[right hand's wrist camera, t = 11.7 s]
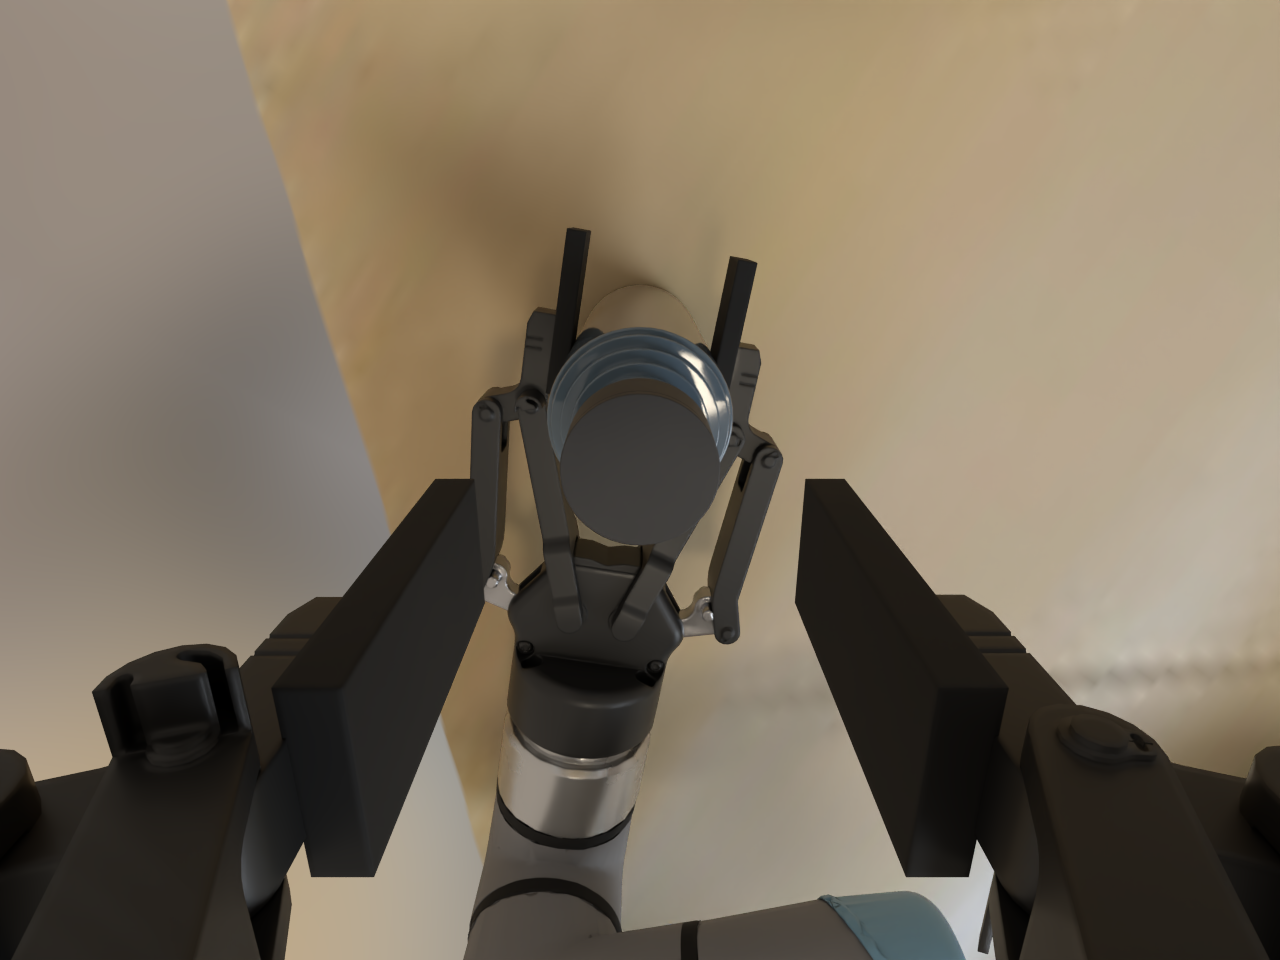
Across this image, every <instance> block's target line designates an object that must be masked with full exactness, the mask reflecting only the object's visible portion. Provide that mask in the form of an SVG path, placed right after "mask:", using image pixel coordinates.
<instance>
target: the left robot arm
mask: <svg viewBox="0 0 1280 960" xmlns="http://www.w3.org/2000/svg"><path fill="white" fill-rule="evenodd" d="M590 235H591V231H590V230H584V229H579V228H567V232H566V240H565V248H564V255H563V263H562V271H561V279H560V286H559V294H558V302H557V309H556V310H553V309H547V308H542V307H538V308H537V309H536V310H534V312H533V313H532V315H531V317H530V319H529V321H528V323H527V331H526V340H525V348H524V357H523V366H522V374H521V380H520V383H518V384H517V385H514V386H509V387H504V388H499V387H492V388H491V389H489V390H487V392H486V393H485V394H484V395H483V396H482V397H481V398H480V399H479V400H478V402H477V403H476V404H475V405H474V407H473V410H472V431H471V468H470V479H475V491H476V502H477V514H478V526H479V538H480V549H481V561H482V573H483V585H484V596H485V601H486V602H489V603H491V604H494V605H496V606H498V607H501V608H503V609H506V610H508V618H509V621H510V623H511V625H512V627H513V629H514V633H515V645H514V652H513V660H512V668H511V675H510V683H509V691H508V698H507V706H508V709H507V713H506V716H505V720H504V728H503V736H502V744H501V752H500V760H499V768H498V779H497V793H496V799H495V805H494V811H493V817H492V823H491V829H490V836H489V842H488V847H487V853H486V858H485V862H484V867H483V871H482V875H481V879H480V883H479V887H478V891H477V895H476V900H475V904H474V908H473V912H472V916H471V921H470V929H469V934H468V944H467V948H466V952H465V955H464V959H463V960H966V959H965V957H964V954H963V952H962V949H961V947H960V945H959V943H958V941H957V939H956V936H955V934H954V932H953V931H952V929H951V927H950V925H949V923H948V922H947V920H946V918H945V917H944V916H943V914H942V913H941V911H940V910H939V909H938V908H937V907H936V906H935V905H934V904H933V903H932V902H931V901H930V900H928V899H927V898H926V897H924V896H922V895H920V894H918V893H915V892H909V891H898V892H887V893H876V894H865V895H854V896H842V897H834V896H831V895H824V896H820V897H819V898H818V899H817V900H813V901H807V902H802V903H797V904H791V905H786V906H781V907H775V908H770V909H765V910H759V911H754V912H749V913H743V914H738V915H733V916H727V917H722V918H717V919H711V920H706V921H701V920H700V921H690V922H684V923H677V924H671V925H664V926H658V927H652V928H645V929H639V930H632V931H626V932H622V930H621V896H622V873H623V864H624V857H625V851H626V846H627V840H628V834H629V829H630V823H631V817H632V813H633V810H634V807H635V802H636V798H637V796H638V792H639V788H640V783H641V779H642V774H643V769H644V765H645V760H646V756H647V751H648V747H649V740H650V731H651V728H652V726H653V722H654V718H655V714H656V709H657V704H658V700H659V695H660V691H661V686H662V681H663V677H664V672H665V668H666V664H667V661H668V658H669V656H670V655H671V653H672V652H673V651H674V650H675V649H676V648H677V647H678V646H679V645H680V643H681V642H682V639H683V637H690V636H700V635H710V634H714V635H715V638H716V639H717V641H718V642H720V643H722V644H731V643H734V642H735V641H737V639H738V638H739V636H740V625H739V612H738V599H739V595H740V592H741V589H742V586H743V583H744V580H745V577H746V574H747V571H748V568H749V565H750V562H751V559H752V556H753V553H754V550H755V546H756V543H757V540H758V537H759V534H760V531H761V528H762V525H763V522H764V519H765V516H766V513H767V510H768V507H769V504H770V501H771V497H772V494H773V491H774V488H775V485H776V482H777V479H778V476H779V473H780V470H781V467H782V463H783V457H782V454H781V452H780V451H779V449H778V447H777V446H776V444H775V442H774V441H773V439H772V437H771V436H770V435H769V434H767V433H765V432H761V431H759V430H757V429H755V428H754V427H752V426H751V425H749V423H748V418H749V413H750V409H751V405H752V400H753V396H754V392H755V386H756V383H757V379H758V374H759V370H760V366H761V359H760V353H759V350H758V349H757V348H756V346H755V345H752V344H746V343H741V342H740V340H741V335H742V331H743V326H744V322H745V317H746V313H747V308H748V304H749V299H750V294H751V290H752V285H753V281H754V276H755V272H756V267H757V263H756V262H754V261H751V260H748V259H743V258H738V257H732V256H730V259H729V264H728V269H727V274H726V279H725V283H724V288H723V293H722V298H721V303H720V308H719V312H718V317H717V322H716V327H715V332H714V336H713V341H712V346H711V351H710V352H711V354H712V356H713V358H714V360H715V362H716V364H717V366H718V368H719V369H720V371H721V373H722V375H723V377H724V379H725V381H726V383H727V386H728V389H729V392H730V395H731V401H732V406H733V426H732V433H731V438H730V442H729V445H728V448H727V450H726V453H725V455H724V457H723V459H722V460H721V462H720V481H719V485H718V488H719V486H720V485H721V483H722V481H723V479H724V478H725V476H726V474H727V473H728V471H729V469H730V468H731V466H732V464H733V463H734V461H735V459H736V457H737V456H738V457H740V458H742V461H741V464H740V468H739V471H738V474H737V478H736V481H735V484H734V487H733V491H732V494H731V497H730V500H729V504H728V507H727V510H726V514H725V517H724V520H723V523H722V527H721V530H720V533H719V537H718V540H717V543H716V546H715V550H714V553H713V556H712V559H711V563H710V567H709V572H708V587H705V586H704V587H701V588H700V589H699V590H698V591H697V592H696V593H695V594H694V597H693V602H692V604H691V605H690V606H689V607H688V608H686V609H683V610H680V608H679V606H678V604H677V603H676V601H675V599H674V597H673V595H672V593H671V591H670V590H669V588H668V586H667V584H666V582H667V580H668V578H669V577H670V575H671V573H672V570H673V567H674V564H675V561H676V559H677V557H678V556H679V554H680V552H681V551H682V549H683V547H684V545H685V544H686V542H687V540H688V539H689V537H690V535H691V534H692V532H693V530H694V529H695V527H696V525H697V523H698V522H699V521H698V522H697V523H696V524H695V525H694V526H693V527H691V528H690V529H689V530H687V531H686V532H684V533H683V534H681V535H679V536H677V537H675V538H673V539H670V540H667V541H664V542H661V543H656V544H651V545H639V546H638V547H631V546H614V547H607V546H605V545H603V544H600V543H598V542H595V541H593V540H587V539H580V537H579V531H578V526H577V521H576V518H575V516H574V512H573V511H572V509H571V507H570V506H569V504H568V502H567V500H566V498H565V495H564V493H563V489H562V486H561V480H560V462H559V460H558V459H557V457H556V455H555V453H554V450H553V448H552V445H551V442H550V438H549V434H548V427H547V407H548V400H549V396H550V392H551V389H552V386H553V384H554V381H555V379H556V377H557V375H558V373H559V371H560V369H561V367H562V366H563V364H564V362H565V360H566V358H567V356H568V354H569V352H570V350H571V349H572V347H573V345H574V343H575V341H576V335H577V327H578V320H579V313H580V306H581V299H582V292H583V285H584V278H585V270H586V263H587V256H588V249H589V242H590ZM513 420H519V422H520V427H521V432H522V437H523V443H524V448H525V453H526V458H527V463H528V468H529V473H530V478H531V483H532V488H533V493H534V498H535V503H536V508H537V513H538V518H539V523H540V528H541V533H542V538H543V555H544V560H545V561H544V562H543V563H542V564H541V565H540V566H539V567H538V568H537V569H536V570H534V571H533V572H532V573H531V574H530V575H529V576H528V577H527V578H526V579H525V580H524V581H523V582H521V583H520V584H519V585H518V584H516V583H514V581H513V580H512V579H511V577H510V568H511V566H510V563H509V561H508V560H507V558H506V557H505V556H504V555H499V553H500V550H501V547H502V544H503V540H504V532H505V512H506V490H507V468H508V447H509V425H510V421H513ZM717 490H718V489H717Z"/></svg>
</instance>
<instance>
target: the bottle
mask: <svg viewBox="0 0 1280 960" xmlns="http://www.w3.org/2000/svg"><path fill="white" fill-rule="evenodd" d="M634 378H647V379H654V380H659V381H662V382H665V383H668V384H670V385H672V386H675V387H677V388H678V389H680V390H681V391H683V392H685V393H686V394H687V395H688V396H689V397H691V398H692V399H693V400H694V401H695V402H696V404H697V405H698V406H699V407H700V409H701V410H702V411H703V413H704V415H705V417H706V419H707V421H708V423H709V426H710V429H711V432H712V435H713V437H714V440H715V443H716V446H717V449H718V453H719V459H720V462H721V460H722V459H723V457H724V455H725V453H726V450H727V448H728V445H729V442H730V438H731V433H732V426H733V406H732V401H731V395H730V392H729V389H728V386H727V383H726V381H725V379H724V377H723V375H722V373H721V371H720V369H719V368H718V366H717V364H716V362H715V360H714V358H713V356H712V354H711V352H710V351H709V349H708V347H707V345H706V343H705V341H704V339H703V337H702V335H701V334H700V332H699V330H698V328H697V326H696V324H695V322H694V320H693V318H692V316H691V315H690V313H689V311H688V310H687V308H686V307H685V306H684V305H683V304H682V302H681V301H679V300H678V299H677V298H676V297H675V296H673V295H672V294H670V293H669V292H667V291H665V290H663V289H660V288H657V287H654V286H649V285H631V286H626V287H623V288H620V289H617V290H615V291H613V292H611V293H610V294H608V295H607V296H605V297H604V298H603V299H602V300H601V301H600V302H599V303H598V304H597V305H596V306H595V307H594V309H593V310H592V312H591V313H590V315H589V317H588V318H587V320H586V322H585V324H584V326H583V328H582V330H581V332H580V334H579V335H578V337H577V339H576V341H575V343H574V345H573V347H572V349H571V350H570V352H569V354H568V356H567V358H566V360H565V362H564V364H563V366H562V367H561V369H560V371H559V373H558V375H557V377H556V379H555V381H554V384H553V386H552V389H551V392H550V396H549V400H548V407H547V427H548V434H549V438H550V442H551V445H552V448H553V450H554V453H555V455H556V457H557V459H558V460H559V462H560V458H561V453H562V449H563V446H564V443H565V440H566V437H567V434H568V431H569V428H570V425H571V423H572V421H573V418H574V416H575V415H576V413H577V411H578V410H579V408H580V407H581V406H582V405H583V403H584V402H585V401H586V400H587V399H588V398H589V397H590V396H592V395H593V394H594V393H596V392H597V391H598V390H600V389H602V388H603V387H605V386H607V385H609V384H612V383H615V382H618V381H621V380H626V379H634Z"/></svg>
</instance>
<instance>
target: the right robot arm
mask: <svg viewBox="0 0 1280 960" xmlns="http://www.w3.org/2000/svg"><path fill="white" fill-rule="evenodd" d="M484 604H485V596H484V585H483V573H482V561H481V549H480V538H479V526H478V514H477V502H476V491H475V479H435V480H434V481H433V483H432V484H431V485H430V487H429V488H428V489H427V490H426V492H425V493H424V494H423V495H422V497H421V498H420V499H419V501H418V502H417V503H416V504H415V506H414V507H413V508H412V509H411V511H410V512H409V513H408V515H407V516H406V517H405V518H404V520H403V521H402V522H401V523H400V525H399V526H398V527H397V528H396V530H395V531H394V532H393V534H392V535H391V536H390V537H389V539H388V540H387V541H386V543H385V544H384V545H383V546H382V548H381V549H380V550H379V551H378V553H377V554H376V555H375V556H374V558H373V559H372V560H371V562H370V563H369V564H368V565H367V567H366V568H365V569H364V570H363V572H362V573H361V574H360V575H359V577H358V578H357V579H356V581H355V582H354V583H353V584H352V586H351V587H350V588H349V589H348V591H347V592H346V593H345V595H344V596H343V597H316V598H314V599H312V600H311V601H309V602H307V603H306V604H304V605H302V606H301V607H299V608H297V609H296V610H294V611H292V612H291V613H289V614H288V615H287V616H286V617H285V618H284V619H283V620H282V621H281V622H280V624H279V625H278V626H277V627H276V628H275V629H274V630H273V632H272V633H271V634H270V638H269V639H265V640H264V641H263V643H262V644H261V645H260V646H259V647H258V648H257V649H256V651H255V655H254V656H250V657H249V658H248V659H247V661H246V662H245V663H244V664H243V665H242V666H241V667H240V668H239V665H238V661H237V656H236V655H235V654H234V653H233V652H231V651H230V650H229V649H227V648H226V647H222V646H216V645H211V644H196V645H182V646H178V647H174V648H170V649H166V650H162V651H158V652H154V653H151V654H149V655H147V656H144V657H142V658H139V659H137V660H134V661H132V662H129V663H127V664H126V665H124V666H123V667H121V668H119V669H118V670H116V671H115V672H113V673H111V674H110V675H108V676H107V677H106V678H105V679H104V680H103V681H102V682H101V683H100V684H99V685H98V686H97V687H96V688H95V689H94V690H93V691H92V694H93V697H94V700H95V703H96V706H97V710H98V712H99V716H100V719H101V722H102V725H103V728H104V732H105V735H106V738H107V741H108V744H109V747H110V751H111V754H112V760H111V761H110V764H109V766H107V767H103V768H99V769H94V770H90V771H85V772H80V773H75V774H70V775H66V776H61V777H56V778H52V779H47V780H42V781H37V782H34V779H33V776H32V774H31V771H30V768H29V765H28V763H27V760H26V758H25V757H23V756H22V755H20V754H19V753H18V752H16V751H15V750H6V749H0V960H284V959H285V951H286V944H287V936H288V929H289V921H290V913H291V906H292V903H291V895H290V888H289V884H288V879H287V875H286V874H287V872H288V870H289V868H290V866H291V864H292V862H293V861H294V859H295V857H296V855H297V853H298V851H299V849H300V847H301V846H302V844H303V842H304V845H305V849H306V855H307V859H308V864H309V869H310V873H311V877H374V876H375V873H376V871H377V868H378V866H379V863H380V861H381V858H382V856H383V853H384V851H385V849H386V846H387V844H388V841H389V839H390V836H391V834H392V831H393V829H394V826H395V824H396V821H397V819H398V816H399V814H400V811H401V809H402V807H403V804H404V802H405V799H406V796H407V794H408V792H409V789H410V787H411V784H412V782H413V779H414V777H415V774H416V772H417V769H418V767H419V764H420V762H421V760H422V757H423V755H424V752H425V750H426V747H427V745H428V742H429V740H430V737H431V735H432V732H433V730H434V727H435V725H436V722H437V720H438V717H439V715H440V713H441V710H442V708H443V705H444V703H445V700H446V698H447V695H448V693H449V690H450V688H451V685H452V683H453V680H454V678H455V675H456V673H457V671H458V668H459V666H460V663H461V661H462V658H463V656H464V653H465V651H466V648H467V646H468V643H469V641H470V638H471V636H472V633H473V631H474V628H475V626H476V624H477V621H478V619H479V616H480V614H481V611H482V609H483V606H484ZM795 604H796V606H797V609H798V611H799V614H800V616H801V619H802V621H803V624H804V626H805V628H806V631H807V633H808V636H809V638H810V641H811V643H812V646H813V648H814V651H815V653H816V656H817V658H818V661H819V663H820V666H821V668H822V671H823V673H824V675H825V678H826V680H827V683H828V685H829V688H830V690H831V693H832V695H833V698H834V700H835V703H836V705H837V708H838V710H839V713H840V715H841V717H842V720H843V722H844V725H845V727H846V730H847V732H848V735H849V737H850V740H851V742H852V745H853V747H854V750H855V752H856V755H857V757H858V760H859V762H860V764H861V767H862V769H863V772H864V774H865V777H866V779H867V782H868V784H869V787H870V789H871V792H872V794H873V797H874V799H875V802H876V804H877V807H878V809H879V811H880V814H881V816H882V819H883V821H884V824H885V826H886V829H887V831H888V834H889V836H890V839H891V841H892V844H893V846H894V849H895V851H896V853H897V856H898V858H899V861H900V863H901V866H902V868H903V871H904V873H905V876H906V877H969V873H970V869H971V864H972V859H973V855H974V850H975V845H976V841H977V840H978V842H979V844H980V846H981V848H982V849H983V851H984V853H985V855H986V857H987V859H988V860H989V862H990V864H991V866H992V868H993V870H994V875H993V879H992V884H991V888H990V893H989V897H988V901H987V906H986V910H985V914H984V919H983V923H982V928H981V932H980V937H979V945H978V952H982V953H985V954H988V952H989V948H990V943H991V939H992V937H993V942H994V950H995V957H996V960H1280V746H1272V747H1266V748H1265V749H1263V750H1262V751H1260V752H1259V753H1258V754H1256V755H1255V757H1254V760H1253V763H1252V765H1251V768H1250V771H1249V773H1248V776H1247V779H1245V778H1240V777H1235V776H1230V775H1226V774H1221V773H1216V772H1211V771H1206V770H1202V769H1197V768H1192V767H1187V766H1182V765H1178V764H1175V763H1171V762H1170V760H1169V758H1168V756H1167V755H1166V754H1165V752H1164V751H1163V750H1162V749H1161V747H1160V746H1159V745H1158V744H1157V742H1156V741H1155V740H1154V739H1153V738H1151V737H1150V736H1149V735H1147V734H1146V733H1144V732H1143V731H1142V730H1140V729H1139V728H1137V727H1136V726H1135V725H1133V724H1131V723H1129V722H1127V721H1125V720H1123V719H1121V718H1118V717H1116V716H1114V715H1112V714H1110V713H1107V712H1104V711H1100V710H1097V709H1093V708H1089V707H1086V706H1082V705H1076V704H1075V703H1074V702H1073V701H1072V700H1071V698H1070V697H1069V696H1068V695H1067V694H1066V693H1065V692H1064V691H1063V690H1062V688H1061V687H1060V686H1059V685H1058V684H1057V683H1056V682H1055V681H1054V680H1053V678H1052V677H1051V676H1050V675H1049V674H1048V673H1047V672H1046V671H1045V670H1044V668H1043V667H1042V666H1041V665H1040V664H1039V663H1038V662H1037V661H1036V659H1035V658H1034V657H1033V656H1032V655H1031V654H1030V653H1026V648H1025V647H1024V646H1023V645H1022V644H1021V643H1020V642H1019V641H1018V639H1017V638H1016V637H1015V636H1011V632H1010V631H1009V629H1008V628H1007V627H1006V626H1005V625H1004V624H1003V623H1002V622H1001V621H1000V619H999V618H998V617H997V616H996V615H995V614H994V613H993V612H992V611H990V610H989V609H987V608H985V607H984V606H982V605H980V604H979V603H977V602H975V601H974V600H972V599H970V598H969V597H967V596H965V595H935V593H934V592H933V591H932V589H931V588H930V587H929V586H928V584H927V583H926V582H925V581H924V579H923V578H922V577H921V575H920V574H919V573H918V572H917V570H916V569H915V568H914V567H913V565H912V564H911V563H910V562H909V560H908V559H907V558H906V556H905V555H904V554H903V553H902V551H901V550H900V549H899V548H898V546H897V545H896V544H895V542H894V541H893V540H892V539H891V537H890V536H889V535H888V534H887V532H886V531H885V530H884V528H883V527H882V526H881V525H880V523H879V522H878V521H877V520H876V518H875V517H874V516H873V515H872V513H871V512H870V511H869V509H868V508H867V507H866V506H865V504H864V503H863V502H862V501H861V499H860V498H859V497H858V495H857V494H856V493H855V492H854V490H853V489H852V488H851V487H850V485H849V484H848V483H847V481H846V480H845V479H805V491H804V502H803V514H802V526H801V538H800V549H799V561H798V573H797V585H796V596H795Z"/></svg>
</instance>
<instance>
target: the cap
mask: <svg viewBox="0 0 1280 960" xmlns="http://www.w3.org/2000/svg"><path fill="white" fill-rule="evenodd" d="M560 480H561V486H562V489H563V493H564V495H565V498H566V500H567V502H568V504H569V506H570V507H571V509H572V511H573V512H574V513H575V514H576V516H577V517H578V518H579V519H580V520H581V521H582V522H583V523H584V524H585V525H586V526H587V527H589V528H590V529H591V530H593V531H594V532H596V533H597V534H599V535H601V536H603V537H605V538H607V539H610V540H612V541H616V542H619V543H623V544H630V545H651V544H656V543H661V542H664V541H667V540H670V539H673V538H675V537H677V536H679V535H681V534H683V533H684V532H686V531H687V530H689V529H690V528H691V527H693V526H694V525H695V524H696V523H697V522H698V521H699V520H700V519H701V518H702V517H703V516H704V514H705V513H706V512H707V510H708V509H709V507H710V505H711V504H712V502H713V500H714V498H715V495H716V492H717V489H718V485H719V481H720V459H719V453H718V449H717V446H716V443H715V440H714V437H713V435H712V432H711V429H710V426H709V423H708V421H707V419H706V417H705V415H704V413H703V411H702V410H701V409H700V407H699V406H698V405H697V404H696V402H695V401H694V400H693V399H692V398H691V397H689V396H688V395H687V394H686V393H685V392H683V391H681V390H680V389H678V388H677V387H675V386H672V385H670V384H668V383H665V382H662V381H659V380H654V379H647V378H634V379H626V380H621V381H618V382H615V383H612V384H609V385H607V386H605V387H603V388H602V389H600V390H598V391H597V392H596V393H594V394H593V395H592V396H590V397H589V398H588V399H587V400H586V401H585V402H584V403H583V405H582V406H581V407H580V408H579V410H578V411H577V413H576V415H575V416H574V418H573V421H572V423H571V425H570V428H569V431H568V434H567V437H566V440H565V443H564V446H563V449H562V453H561V458H560Z"/></svg>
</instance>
